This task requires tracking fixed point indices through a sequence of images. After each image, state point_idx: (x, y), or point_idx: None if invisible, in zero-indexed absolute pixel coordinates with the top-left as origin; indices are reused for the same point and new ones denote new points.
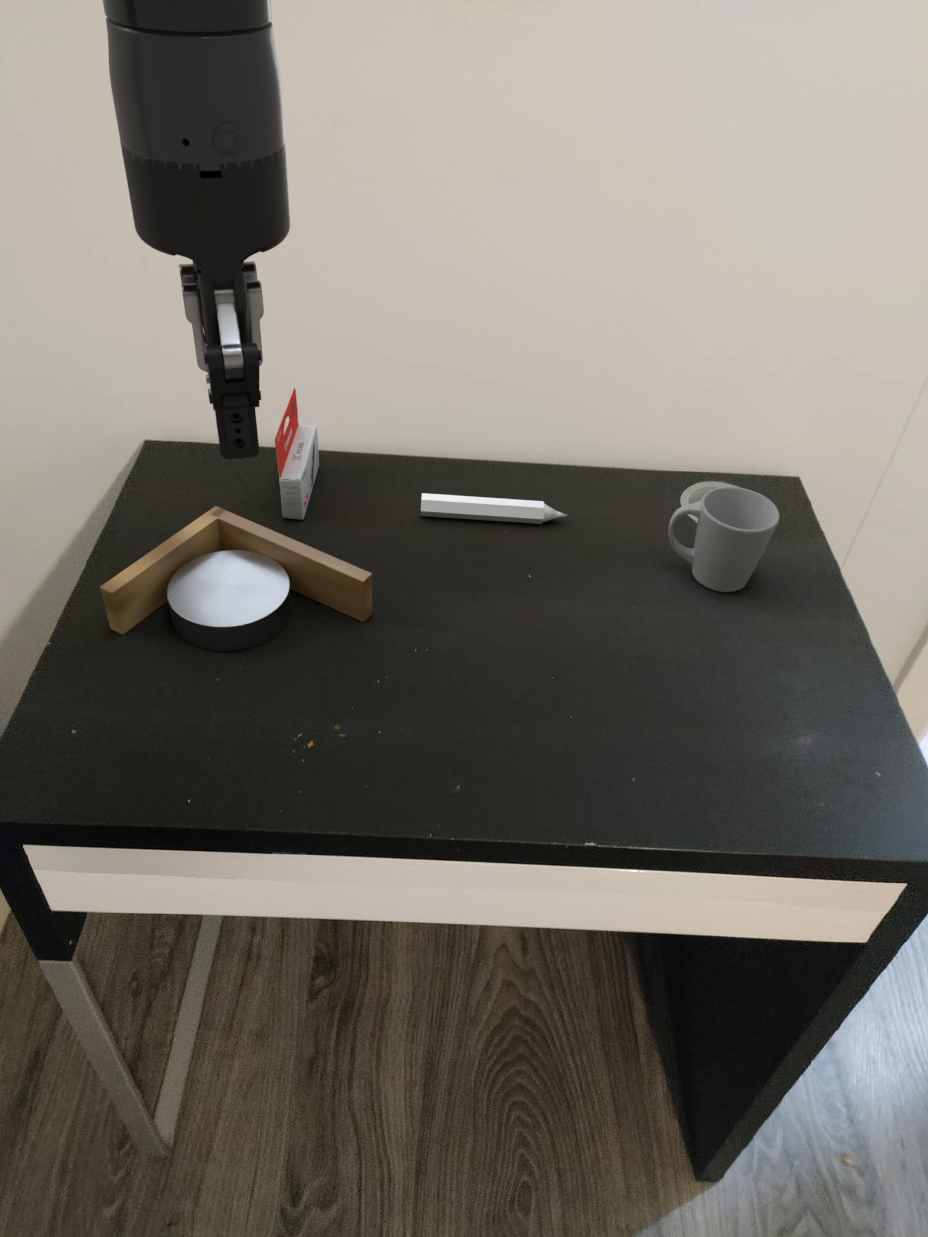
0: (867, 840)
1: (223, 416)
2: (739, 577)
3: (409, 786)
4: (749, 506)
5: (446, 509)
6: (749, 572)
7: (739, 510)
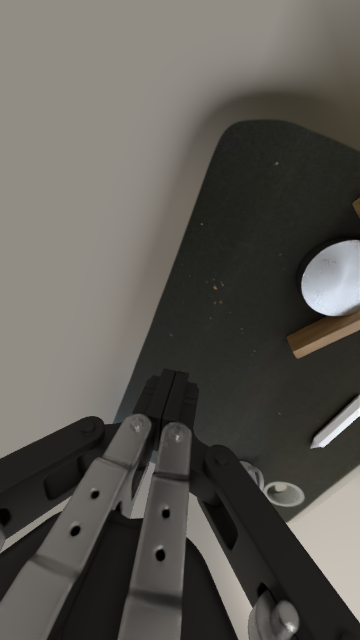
0: None
1: (136, 409)
2: None
3: (177, 318)
4: None
5: (349, 408)
6: None
7: None
